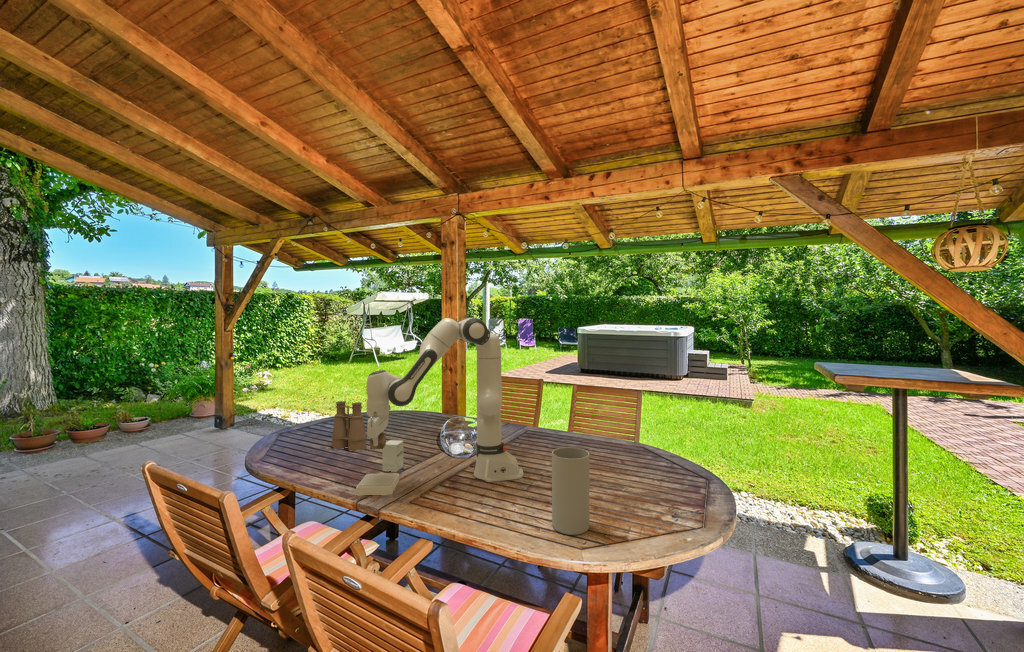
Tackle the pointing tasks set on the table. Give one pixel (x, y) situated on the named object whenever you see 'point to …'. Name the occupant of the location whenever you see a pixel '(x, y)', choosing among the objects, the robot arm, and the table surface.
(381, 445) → the walnut block
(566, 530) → the cylinder vase
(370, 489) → the plinth
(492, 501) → the table surface
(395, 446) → the supplement box
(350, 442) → the binoculars
